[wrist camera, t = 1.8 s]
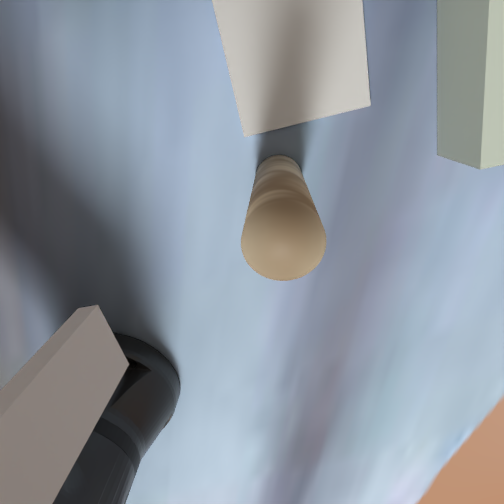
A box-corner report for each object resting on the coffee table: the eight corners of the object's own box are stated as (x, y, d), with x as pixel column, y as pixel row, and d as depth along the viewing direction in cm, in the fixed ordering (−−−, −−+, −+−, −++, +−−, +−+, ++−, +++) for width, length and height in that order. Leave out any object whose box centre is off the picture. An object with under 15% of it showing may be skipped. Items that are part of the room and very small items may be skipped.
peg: (261, 205, 29) (252, 286, 16) (250, 160, 27) (231, 213, 15) (305, 195, 28) (331, 272, 16) (297, 149, 27) (319, 194, 14)
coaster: (244, 136, 26) (244, 137, 26) (209, -11, 22) (208, -13, 22) (369, 105, 25) (370, 105, 25) (355, -59, 21) (357, -62, 20)
